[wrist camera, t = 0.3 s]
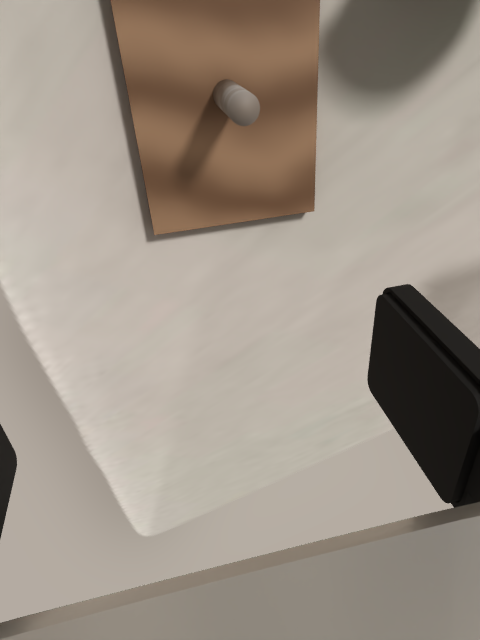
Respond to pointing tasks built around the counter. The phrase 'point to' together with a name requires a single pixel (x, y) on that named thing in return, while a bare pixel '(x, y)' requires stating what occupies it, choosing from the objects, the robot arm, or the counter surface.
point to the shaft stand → (222, 106)
